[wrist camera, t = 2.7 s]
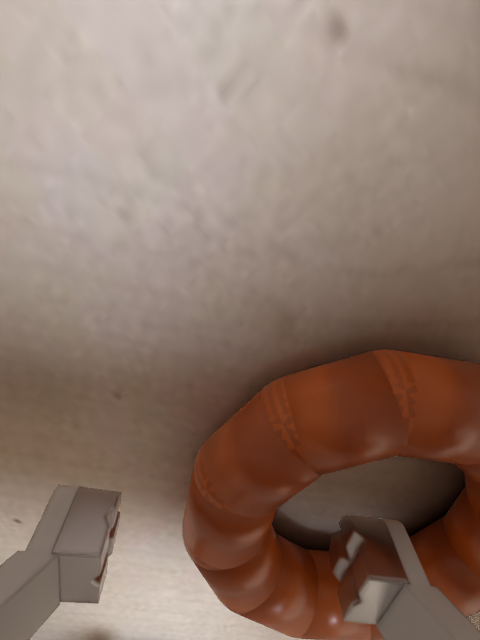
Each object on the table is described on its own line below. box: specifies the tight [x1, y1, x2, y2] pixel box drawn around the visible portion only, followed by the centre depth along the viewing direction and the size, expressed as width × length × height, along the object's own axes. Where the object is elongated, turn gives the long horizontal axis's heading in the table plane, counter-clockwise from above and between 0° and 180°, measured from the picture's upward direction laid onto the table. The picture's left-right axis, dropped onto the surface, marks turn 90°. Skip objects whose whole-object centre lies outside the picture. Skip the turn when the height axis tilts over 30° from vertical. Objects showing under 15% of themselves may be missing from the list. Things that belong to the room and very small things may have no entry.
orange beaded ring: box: [182, 349, 480, 640], centre depth 11 cm, size 10×10×2 cm
